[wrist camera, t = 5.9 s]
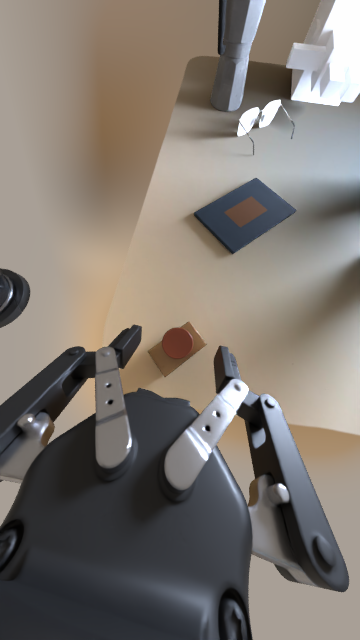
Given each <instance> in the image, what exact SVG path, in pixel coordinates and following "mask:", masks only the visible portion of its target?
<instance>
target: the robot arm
mask: <svg viewBox="0 0 360 640" xmlns="http://www.w3.org/2000/svg"><path fill="white" fill-rule="evenodd" d="M15 294H16V287H15V284H14V282H13V280H12V279H11V278H9V277H8V276H6V275H4V274H1V273H0V315H1V314H2V313H3V312H4V311H5V310H7V308H8V307H9V306H10V305H11V303H12V302H13V300H14V297H15ZM141 333H142V327H141V326H138V325H133V326H132V327H131V328H130V329H129V328H127V329H125V330H123V331H122V332H121V333H120V334H119V335H118V336H117V337H116V338H115V339H114V340H113V342H112V343H111V344H110V345H109V346H108V347H103V348H101V349H99V350H98V351H97V352H85V349H84V348H83V347H79V346H78V347H72V348H69V349H67V350H66V351H65V352H64V353H62V354H61V355H60V356H59V357H58V358H56V359H55V360H54V361H53V362H52V363H50V364H49V365H48V366H47V367H46V368H44V369H43V370H42V371H41V372H40V373H38V374H37V375H36V376H35V377H34V378H33V379H31V380H30V381H29V382H28V383H27V384H25V385H24V386H23V387H22V388H21V389H19V390H18V391H17V392H16V393H15V394H14V395H12V396H11V397H10V398H9V399H7V400H6V401H5V402H4V403H3V404H2V405H0V482H1V481H3V480H5V481H10V482H15V483H21V486H20V489H19V492H18V494H17V496H16V499H15V501H14V503H13V505H12V507H11V509H10V511H9V513H8V515H7V516H6V518H5V520H4V522H3V523H2V525H1V526H0V640H253V639H252V632H251V625H250V618H249V604H248V583H249V567H250V560H251V554H252V555H255V556H257V557H259V558H262V559H264V560H266V561H269V562H271V563H273V564H274V565H275V567H276V568H277V570H278V571H279V572H280V574H281V575H282V576H283V577H284V578H286V579H287V580H289V581H292V582H297V583H301V584H306V585H311V586H315V587H320V588H324V589H329V590H334V591H338V592H345V591H346V590H347V589H348V586H349V576H348V571H347V568H346V564H345V561H344V559H343V556H342V554H341V552H340V550H339V547H338V544H337V542H336V540H335V537H334V535H333V532H332V530H331V528H330V525H329V523H328V520H327V518H326V516H325V513H324V511H323V508H322V506H321V504H320V501H319V499H318V496H317V494H316V492H315V489H314V487H313V484H312V482H311V480H310V477H309V475H308V472H307V470H306V468H305V465H304V463H303V460H302V458H301V456H300V453H299V451H298V448H297V446H296V444H295V441H294V439H293V436H292V434H291V432H290V429H289V427H288V424H287V422H286V419H285V417H284V415H283V412H282V410H281V407H280V405H279V404H278V402H277V401H276V400H275V399H274V398H273V397H272V396H270V395H268V394H261V395H260V396H258V395H257V394H255V393H253V392H251V391H249V390H248V387H247V386H246V384H245V383H244V382H243V381H241V377H240V373H239V370H238V367H237V362H236V359H235V357H234V356H233V354H231V353H229V350H228V347H224V346H219V348H218V350H217V352H216V355H215V357H214V372H215V384H216V393H217V395H216V397H215V398H214V399H213V400H212V401H211V402H210V404H209V405H208V406H207V407H206V408H205V409H204V410H203V412H202V413H201V414H199V413H198V412H197V411H196V410H195V409H194V408H192V407H191V406H190V401H187V400H184V399H180V398H163V397H161V396H159V395H157V394H155V393H154V392H152V391H149V390H145V389H142V388H139V389H138V391H137V392H131V393H128V394H125V395H123V390H122V384H121V379H120V373H119V368H121V369H124V367H125V366H126V364H127V363H128V361H129V359H130V358H131V356H132V355H133V353H134V352H135V350H136V349H137V347H138V346H139V344H140V342H141ZM88 378H95V398H96V413H95V414H93V415H92V416H90V417H88V418H87V419H85V420H84V421H82V422H80V423H79V424H77V425H76V426H74V427H73V428H71V429H70V430H68V431H67V432H65V433H63V434H62V435H60V436H59V437H57V438H56V439H54V440H53V441H52V442H50V443H49V444H48V441H49V439H50V437H51V435H52V433H53V432H54V428H55V426H54V423H53V422H54V421H55V420H56V418H57V417H58V416H59V415H60V413H61V412H62V411H63V410H64V408H65V407H66V406H67V405H68V403H69V402H70V400H71V399H72V398H73V397H74V396H75V394H76V393H77V392H78V391H79V389H80V388H81V386H82V385H83V384H84V383H85V382H86V380H87V379H88ZM235 414H236V415H238V416H240V417H241V418H243V419H244V420H245V425H246V431H247V436H248V441H249V447H250V453H251V458H252V464H253V470H254V474H255V480H253V481H252V482H251V484H250V487H249V495H250V498H249V503H248V506H247V503H246V500H245V498H244V495H243V493H242V491H241V489H240V487H239V486H238V484H237V482H236V480H235V478H234V476H233V475H232V473H231V471H230V469H229V467H228V465H227V463H226V462H225V460H224V458H223V456H222V454H221V452H220V450H219V449H218V447H217V445H216V444H217V443H218V441H219V440H220V438H221V436H222V435H223V433H224V431H225V430H226V428H227V427H228V425H229V423H230V422H231V420H232V419H233V417H234V416H235ZM47 444H48V445H47Z"/></svg>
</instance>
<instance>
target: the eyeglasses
mask: <svg viewBox="0 0 360 640" xmlns="http://www.w3.org/2000/svg"><path fill="white" fill-rule="evenodd" d="M280 103H281V100H275V101H272V102H270V103H268V104H267V105H266V107H265V108H264V109H263V110H261V111H263V112H262V115H261V119H260V123H259V127H265V126H267V125H268V124H269V123H270V122H271V121H272V119H273V118H274V116H275V114H276V112H277V110H278V108H279V106H281V107H282V108H283V110H284V111H285V113H286V114H287V112H286V110H285V109H284V107H283V106H282V104H280ZM261 111H259V108H257V107H256V108H252V109H250V110H248V111H246V112H245V113H244V114H243V115H242V116H241V118H240V119H239V127H238V132H237V135H238V136H241V135H244V134H246V133H247V132H249V131H250V129H251V128H252V126H253V124H254V122H255V120H256V122H257V120H258V118H257V116H258V113H259V112H261ZM287 115H288V114H287ZM288 117H289V115H288ZM256 118H257V119H256ZM289 118H290V117H289ZM290 120H291V118H290ZM256 122H255V124H256ZM291 122H292V123H293V121H292V120H291ZM255 124H254V125H255ZM293 125H294V123H293ZM294 127H295V125H294ZM293 132H294V129H293ZM247 135H248V136H249V134H248V133H247ZM249 137H250V136H249ZM292 137H293V133H292ZM292 137H291V139H292ZM250 139H251V137H250ZM251 141H252V142H253V140H252V139H251ZM253 155H254V142H253Z"/></svg>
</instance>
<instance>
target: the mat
mask: <svg viewBox="0 0 360 640" xmlns="http://www.w3.org/2000/svg"><path fill="white" fill-rule="evenodd" d="M295 212H296V209H294V208H293V207H292V206H291V205H290V204H288V203H287V202H286V201H285V200H283V199H282V198H281V197H280V196H278V195H277V194H276V193H275V192H273V191H272V190H271V189H270V188H268V187H267V186H266V185H265V184H264V183H262V182H261V181H260V180H259V179H257V178H255V179H253V180H251V181H249V182H248V183H246V184H244V185H242V186H241V187H239V188H237V189H235V190H233V191H232V192H230V193H228V194H226V195H225V196H223V197H221V198H219V199H217V200H216V201H214V202H212V203H210V204H209V205H207V206H205V207H203V208H201V209H200V210H198V211H196V212H194V216H195V217H196V218H197V219H198V220H199V221H200V222H201V223H202V224H203V225H204V226H205V227H206V228H207V229H208V230H209V231H210V232H211V233H212V234H213V235H214V236H215V237H216V238H217V239H218V240H219V241H220V242H221V243H222V244H223V245H224V246H225V247H226V248H227V249H228V250H229V251H230V252H231V253H232V254H234V253H235V252H237V251H238V250H240V249H241V248H243V247H244V246H246V245H247V244H249V243H250V242H252V241H253V240H255V239H256V238H258V237H259V236H261V235H262V234H264V233H265V232H267V231H268V230H270V229H271V228H273V227H274V226H276V225H277V224H279V223H280V222H282V221H283V220H285V219H286V218H288V217H289V216H291V215H292V214H294V213H295Z"/></svg>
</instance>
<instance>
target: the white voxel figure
mask: <svg viewBox="0 0 360 640" xmlns="http://www.w3.org/2000/svg"><path fill="white" fill-rule="evenodd" d="M286 68H291V69H293V70H292V86H291V100H297V101H304V102H312V103H320V104H328V105H336V106H338V105H339V104H340V102H341V101H343V102H351V103H353V101H354V100H355V98H356V97H357V96H358V94H359V93H360V0H321V2H320V4H319V6H318V9H317V11H316V14H315V16H314V19H313V21H312V23H311V26H310V28H309V31H308V33H307V36H306V38H305V41H304V43H303V44H301V43H294V44H293V46H292V49H291V52H290V54H289V57H288V60H287V64H286Z"/></svg>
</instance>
